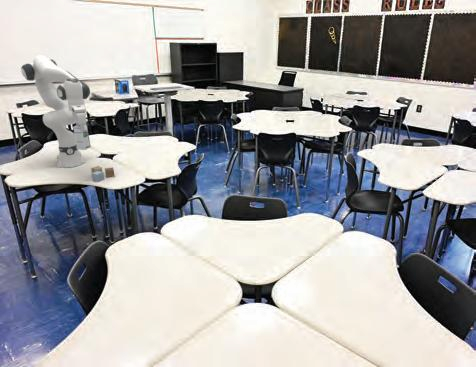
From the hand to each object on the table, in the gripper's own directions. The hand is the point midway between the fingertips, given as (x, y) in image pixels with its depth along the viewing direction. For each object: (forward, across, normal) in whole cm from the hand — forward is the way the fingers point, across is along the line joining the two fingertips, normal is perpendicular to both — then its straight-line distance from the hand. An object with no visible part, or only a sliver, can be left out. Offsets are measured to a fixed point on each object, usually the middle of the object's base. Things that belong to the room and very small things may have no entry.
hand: (80, 130), depth 213 cm
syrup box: (+12, 0, 0) cm, 12 cm away
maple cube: (+31, -4, +6) cm, 32 cm away
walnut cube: (+31, +4, +12) cm, 34 cm away
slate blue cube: (+31, +7, +4) cm, 32 cm away
